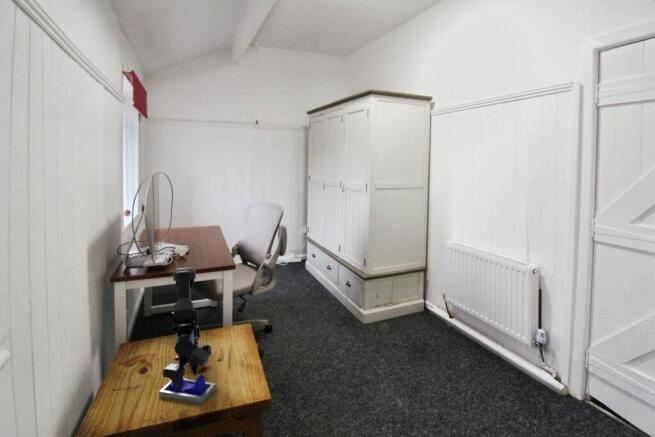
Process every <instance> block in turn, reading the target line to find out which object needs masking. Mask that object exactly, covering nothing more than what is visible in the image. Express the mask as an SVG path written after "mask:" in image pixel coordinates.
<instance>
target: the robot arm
mask: <svg viewBox="0 0 655 437" xmlns="http://www.w3.org/2000/svg"><path fill="white" fill-rule="evenodd" d="M196 272H197V271H196V269H194V268H193V267H182V268H176V269H175V270H174V271H173V272H172V276H173V277H172V279H173V282H175V286H176V288H177V302H176V303H175V304H174V306H173V311H172V312H171V334H175V336H176V337H175V342H174V346H173V348H174V351H175V354H176V356H175V357H174V360H175V361H178V363H170V364H169V365H167V366H166V367H165V368H164V369H162V377H163V378H165V379H166V378H168V379H170V381H171V380H172V382H173V383H174V384H175V386H176V387H177V389H178V390H181V389H182V377H183V378H184V376H185V375H186V373H185V372H186V368H185V367H186V366H187V365H188V364H189V365H190V368H191V371H192V374H193V376H197V374H198V371H199V367H203V366H205V365H206V363H207V362H209V358H210V357H211V355H212V347H211V345H210V344H201V343H199V339H200V338H201V328H200V327H199V326H198V322H199V321H198V320H199V319H198V312H197V310H196V309H195V308H194V303H193V302H192V288H193V287H194V285H195V280H196V279H197V273H196Z"/></svg>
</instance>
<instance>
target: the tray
mask: <svg viewBox="0 0 655 437" xmlns="http://www.w3.org/2000/svg"><path fill="white" fill-rule="evenodd" d="M183 379H184V380H185V381H186V382H188V383H190V384H195V383H196V379H192V378H191V379H190V378H184V377H183ZM171 382H172V380H171V379H170V381H168V383H167V384H165V385H164V386H163V387H162V388H161V389H160V390H158V392H159V393H158V396H159V397H160V398H166V399H173V400H178V401H181V402H182V401H183V402H188V403H194V404H200V405H203V404H204V403H205V402H206V401H207V399H209V397H210V396H211V395H212V394H213V393H214V391H215V390H216V389H217V385H216V384H217V383H215V382H209V381H205V392H204V393H203V394H202V395H201V396H199V395H195V394H191V393H185V394H183V393H178V392H172V391H169V384H170V383H171Z"/></svg>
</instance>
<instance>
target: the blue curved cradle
mask: <svg viewBox="0 0 655 437" xmlns="http://www.w3.org/2000/svg"><path fill="white" fill-rule="evenodd" d="M205 376H206V375H204V374H201V375H200V376H198V377H197V378H196V379H195V380H196V383H195V384H190V383H188V382H186V381H185V380H184V379H183V378H184V376H183V377H182V389H181V390H178V389H177V387H176V386H175V384H174V383H173V382H171V383H170V384H169V391H172V392H178V393H183V394H185V393H191V394H195V395H199V396H201V395H202V394H203V393H204V392H205V382H206V377H205Z"/></svg>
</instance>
